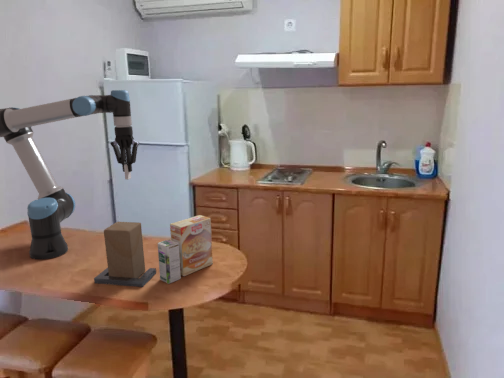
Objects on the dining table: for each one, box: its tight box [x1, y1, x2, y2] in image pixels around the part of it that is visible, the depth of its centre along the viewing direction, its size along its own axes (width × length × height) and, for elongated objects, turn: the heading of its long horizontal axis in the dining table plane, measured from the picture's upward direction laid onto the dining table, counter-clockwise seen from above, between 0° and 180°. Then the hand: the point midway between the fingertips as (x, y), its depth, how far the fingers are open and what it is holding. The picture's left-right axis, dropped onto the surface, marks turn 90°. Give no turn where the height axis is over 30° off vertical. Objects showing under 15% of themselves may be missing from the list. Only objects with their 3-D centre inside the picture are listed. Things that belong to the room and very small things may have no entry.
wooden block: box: [103, 221, 146, 278], centre depth 156 cm, size 10×10×20 cm
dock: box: [93, 267, 157, 288], centre depth 157 cm, size 19×12×2 cm, turn 78°
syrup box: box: [157, 238, 182, 285], centre depth 153 cm, size 6×6×14 cm
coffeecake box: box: [169, 214, 213, 277], centre depth 162 cm, size 15×7×20 cm, turn 137°
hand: (128, 178), depth 189 cm, fingers closed
